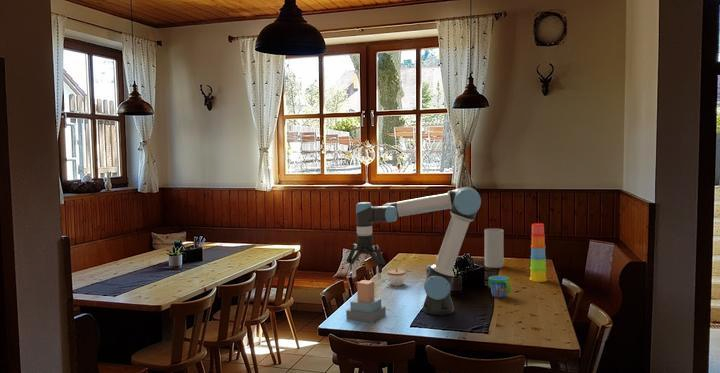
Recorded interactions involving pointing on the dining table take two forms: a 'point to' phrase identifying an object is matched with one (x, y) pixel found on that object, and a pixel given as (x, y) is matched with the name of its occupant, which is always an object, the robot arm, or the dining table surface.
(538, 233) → the stacking cups
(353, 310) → the grey stepped block
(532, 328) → the dining table surface
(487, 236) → the cylinder vase
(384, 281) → the dining table surface
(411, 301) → the dining table surface
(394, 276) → the lidded jar
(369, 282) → the terracotta brick
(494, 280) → the snack cup
